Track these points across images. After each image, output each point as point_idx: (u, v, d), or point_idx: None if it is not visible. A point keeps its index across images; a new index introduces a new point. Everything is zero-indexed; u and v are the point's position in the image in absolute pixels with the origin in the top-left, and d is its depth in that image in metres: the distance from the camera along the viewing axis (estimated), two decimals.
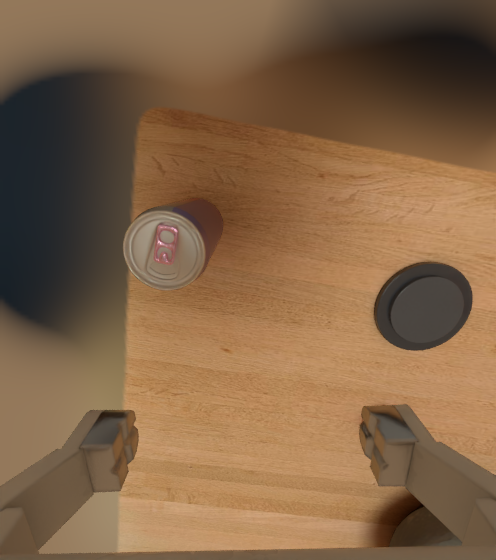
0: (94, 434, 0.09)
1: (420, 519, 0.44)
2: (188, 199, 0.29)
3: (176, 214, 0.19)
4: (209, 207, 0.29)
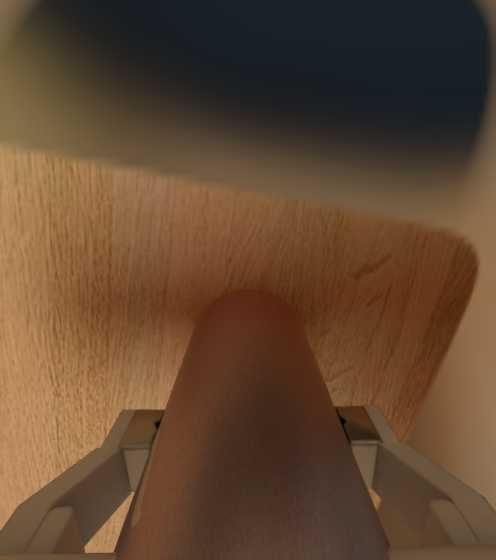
0: (131, 433, 0.09)
1: None
2: None
3: None
4: None
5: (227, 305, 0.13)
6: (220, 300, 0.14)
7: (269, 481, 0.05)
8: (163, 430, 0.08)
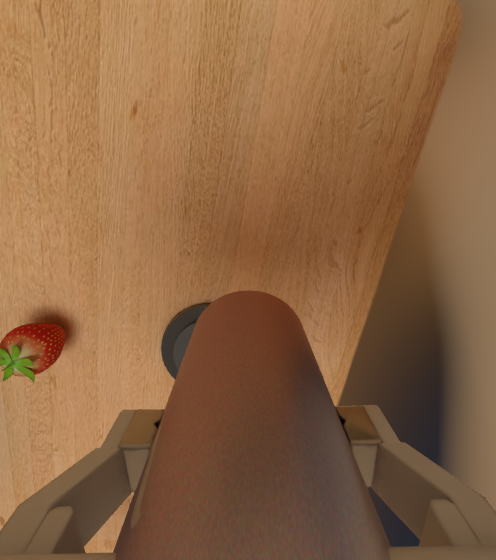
0: (131, 433, 0.09)
1: None
2: None
3: None
4: None
5: (227, 305, 0.13)
6: (220, 300, 0.14)
7: (270, 482, 0.05)
8: (163, 430, 0.08)
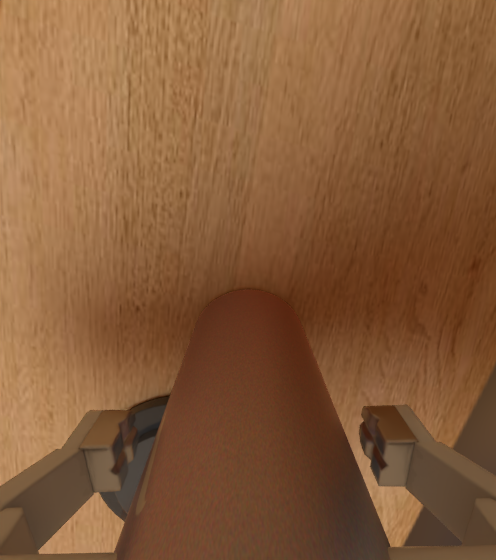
0: (94, 434, 0.09)
1: None
2: None
3: None
4: None
5: (228, 303, 0.13)
6: (220, 299, 0.14)
7: (269, 470, 0.05)
8: (165, 424, 0.08)
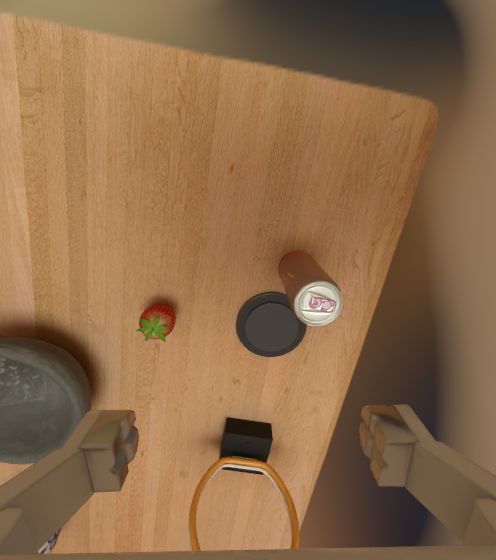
0: (94, 434, 0.09)
1: (71, 357, 0.47)
2: None
3: (339, 312, 0.33)
4: None
5: (293, 254, 0.44)
6: (289, 254, 0.45)
7: (314, 268, 0.36)
8: (290, 272, 0.39)
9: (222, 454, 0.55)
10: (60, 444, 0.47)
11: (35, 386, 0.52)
